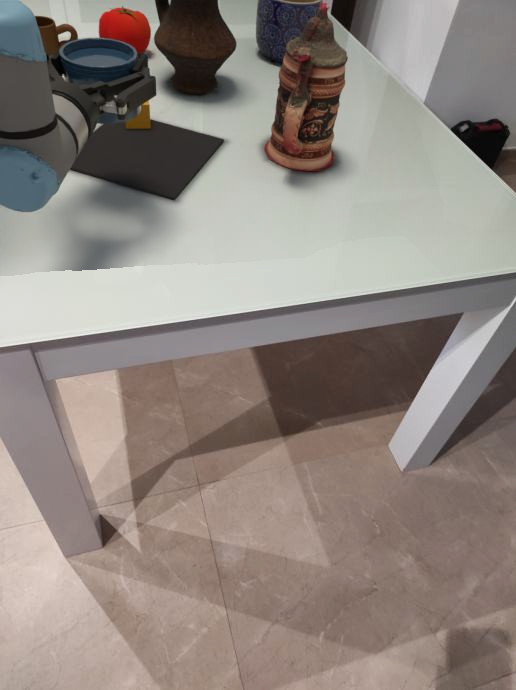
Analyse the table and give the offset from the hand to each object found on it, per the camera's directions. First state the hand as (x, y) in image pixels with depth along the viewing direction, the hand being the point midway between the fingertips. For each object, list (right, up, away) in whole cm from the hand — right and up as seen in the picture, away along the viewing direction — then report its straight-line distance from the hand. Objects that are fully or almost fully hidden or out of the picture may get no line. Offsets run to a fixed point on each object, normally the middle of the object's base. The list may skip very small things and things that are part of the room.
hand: (107, 57), depth 79 cm
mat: (+1, -7, +21) cm, 22 cm away
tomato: (-10, +30, +52) cm, 60 cm away
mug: (-25, +22, +43) cm, 54 cm away
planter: (+30, +35, +61) cm, 77 cm away
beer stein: (+31, -5, +27) cm, 41 cm away
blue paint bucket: (-1, -7, +2) cm, 7 cm away
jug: (+7, +18, +44) cm, 48 cm away
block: (-2, +2, +28) cm, 28 cm away
